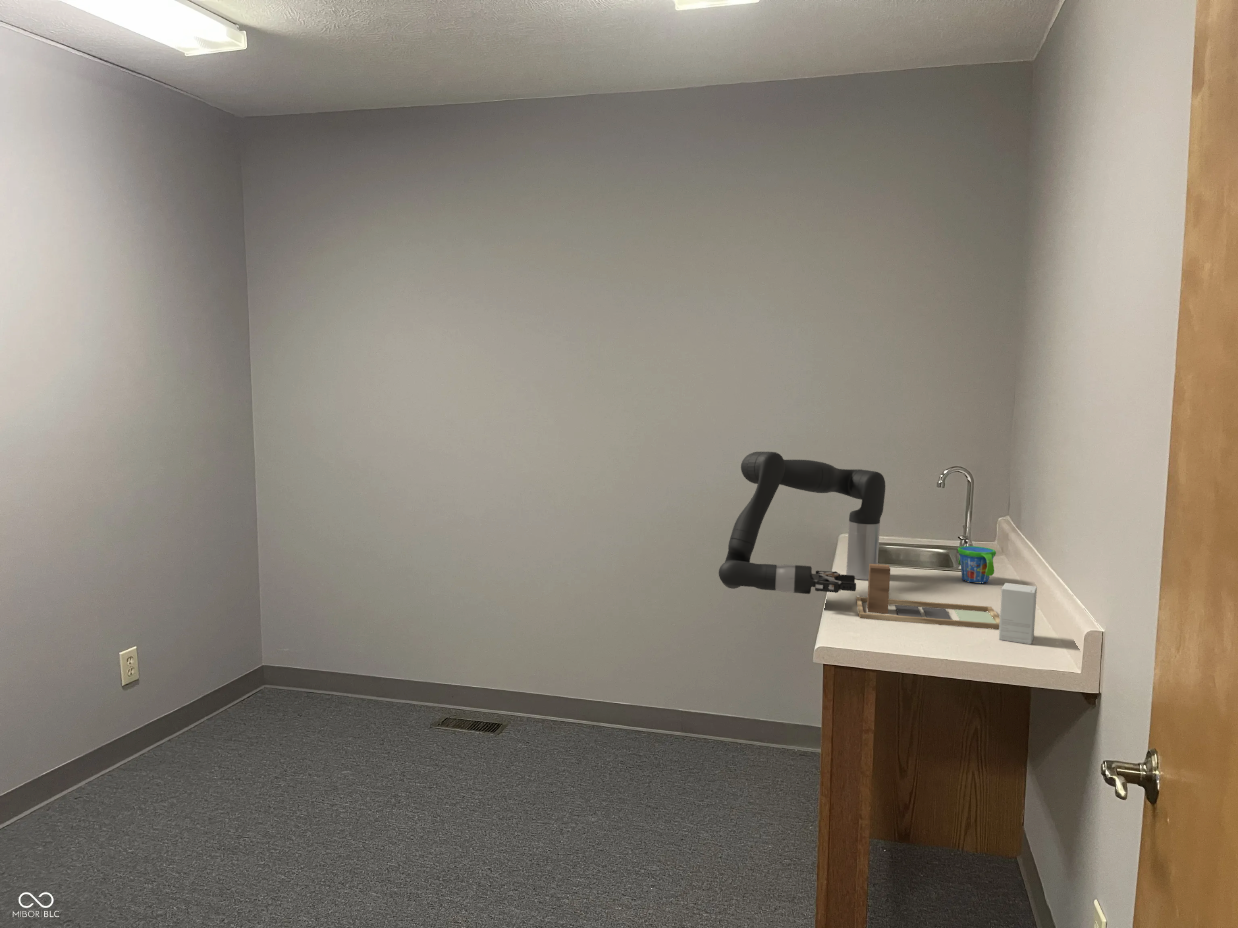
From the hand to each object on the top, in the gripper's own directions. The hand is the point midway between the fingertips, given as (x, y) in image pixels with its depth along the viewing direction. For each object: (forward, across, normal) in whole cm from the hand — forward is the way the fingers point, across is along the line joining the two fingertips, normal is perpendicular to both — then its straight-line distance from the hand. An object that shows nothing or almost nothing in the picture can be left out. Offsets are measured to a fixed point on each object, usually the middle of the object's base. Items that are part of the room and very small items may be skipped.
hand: (855, 583), depth 232 cm
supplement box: (+37, -16, +7) cm, 41 cm away
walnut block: (+6, 0, +7) cm, 9 cm away
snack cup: (+38, +45, +7) cm, 59 cm away
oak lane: (+18, 0, +7) cm, 20 cm away
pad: (+30, 0, +7) cm, 31 cm away
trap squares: (+18, 0, +7) cm, 20 cm away
